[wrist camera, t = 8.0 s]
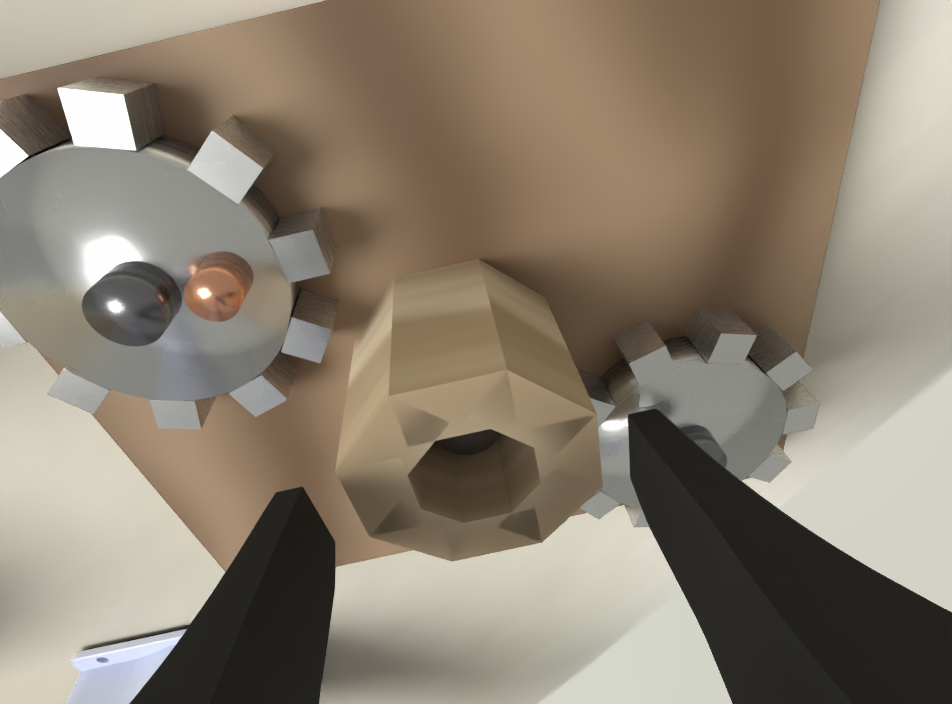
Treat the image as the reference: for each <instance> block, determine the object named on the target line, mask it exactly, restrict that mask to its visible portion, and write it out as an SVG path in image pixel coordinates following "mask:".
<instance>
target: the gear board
mask: <svg viewBox="0 0 952 704" xmlns="http://www.w3.org/2000/svg"><path fill="white" fill-rule="evenodd" d="M879 2H880V0H327V1H323V2H319V3H315V4H310V5H306V6H302V7H298V8H294V9H290V10H286V11H281V12H277V13H273V14H269V15H265V16H261V17H257V18H252V19H248V20H244V21H240V22H236V23H232V24H228V25H223V26H219V27H215V28H211V29H207V30H203V31H199V32H194V33H190V34H186V35H182V36H178V37H174V38H170V39H165V40H161V41H157V42H153V43H149V44H145V45H141V46H136V47H132V48H128V49H124V50H120V51H116V52H112V53H107V54H103V55H99V56H95V57H91V58H87V59H83V60H78V61H74V62H70V63H66V64H62V65H58V66H54V67H50V68H45V69H41V70H37V71H33V72H29V73H25V74H21V75H16V76H12V77H8V78H4V79H0V101H2V100H5V99H9V98H12V97H16V96H20V95H23V94H26V95H27V96H28V97H29V98H30V99H31V100H32V101H33V102H34V103H35V104H36V105H37V106H38V107H39V108H40V109H41V110H42V111H43V112H44V113H45V114H46V115H47V116H48V117H49V118H50V119H51V120H52V121H53V122H54V123H55V124H56V125H57V126H58V127H59V128H60V129H61V130H62V131H63V132H64V133H65V134H66V135H67V136H68V137H69V138H68V139H67V140H66V141H64V142H63V143H65V142H68V141H70V140H72V135H71V132H70V128H69V125H68V122H67V118H66V115H65V111H64V108H63V105H62V101H61V98H60V94H59V91H58V88H59V87H63V86H66V85H70V84H73V83H77V82H80V81H84V80H87V79H91V78H94V77H106V78H115V79H124V80H133V81H142V82H151V83H155V85H156V90H157V95H158V100H159V105H160V110H161V115H162V120H163V125H164V130H165V134H163V135H164V136H169V137H172V138H175V139H178V140H181V141H184V142H187V143H190V144H192V145H194V146H196V147H199V148H201V147H202V145H203V144H204V142H205V141H206V139H207V137H208V136H209V134H210V133H211V131H212V130H213V129H214V128H216V127H217V126H219V125H220V124H221V123H223V122H224V121H225V120H227V119H228V118H230V117H231V116H232V115H233V116H235V117H236V118H237V119H239V120H240V121H241V122H243V123H244V124H245V125H246V126H248V127H249V128H250V129H252V130H253V131H254V132H256V133H257V134H258V135H259V136H261V137H262V138H263V139H265V140H266V141H267V142H269V143H270V144H271V145H273V146H274V147H275V148H276V149H278V151H277V152H276V153H275V155H274V156H273V158H272V159H271V161H270V162H269V164H268V165H267V166H266V168H265V169H264V171H263V172H262V174H261V175H260V177H259V178H258V179H257V181H256V182H255V184H254V185H255V186H256V187H257V188H258V189H259V190H260V191H261V192H262V193H263V195H264V196H265V197H266V198H267V199H268V200H269V202H270V203H271V204H272V205H273V206H274V208H275V209H276V211H277V212H278V214H279V215H280V217H282V216H284V215H288V214H292V213H297V212H301V211H305V210H309V209H314V208H318V207H322V209H323V211H324V214H325V217H326V219H327V222H328V224H329V227H330V230H331V232H332V235H333V238H334V240H335V243H336V246H337V250H336V254H335V258H334V261H333V265H332V269H331V273H330V274H326V275H322V276H318V277H313V278H309V279H304V280H300V292H301V290H302V289H305V290H308V291H311V292H314V293H317V294H320V295H323V296H326V297H329V298H333V299H336V300H339V302H338V307H337V311H336V316H335V320H334V325H333V329H332V332H331V335H330V338H329V341H328V343H327V346H326V349H325V352H324V354H323V357H322V360H321V363H317V362H314V361H310V360H307V359H303V358H300V357H296V356H293V355H289V354H286V353H284V354H285V355H286V356H287V357H288V358H289V359H290V360H291V361H292V362H293V363H294V364H295V365H296V366H297V369H296V373H295V376H294V379H293V383H292V386H291V390H290V393H289V397H288V400H286V401H284V402H283V403H281V404H279V405H277V406H275V407H273V408H272V409H270V410H268V411H266V412H264V413H262V414H261V415H259V416H257V417H255V416H254V415H253V414H251V413H250V412H249V411H248V410H247V409H246V408H245V407H243V406H242V405H241V404H240V403H239V402H238V401H237V400H235V399H234V398H233V397H232V396H231V395H230V394H229V392H227V393H224V394H221V395H217V397H216V399H215V401H214V403H213V405H212V407H211V410H210V412H209V414H208V416H207V418H206V420H205V422H204V425H203V427H202V429H158V427H157V423H156V420H155V417H154V413H153V410H152V406H151V403H150V399H147V398H141V397H137V396H132V395H127V394H124V393H120V392H117V391H114V390H111V391H110V392H109V394H108V395H107V396H106V398H105V399H104V401H103V402H102V403H101V405H100V406H99V407H98V409H97V410H96V411H95V413H94V414H92V413H91V414H92V415H93V416H94V417H95V419H96V420H97V421H98V422H99V423H100V425H101V426H102V427H103V428H104V429H105V430H106V432H107V433H108V434H109V435H110V436H111V438H112V439H113V440H114V441H115V442H116V443H117V445H118V446H119V447H120V448H121V449H122V450H123V452H124V453H125V454H126V455H127V456H128V458H129V459H130V460H131V461H132V462H133V463H134V465H135V466H136V467H137V468H138V469H139V471H140V472H141V473H142V474H143V475H144V476H145V478H146V479H147V480H148V481H149V482H150V483H151V485H152V486H153V487H154V488H155V489H156V491H157V492H158V493H159V494H160V495H161V496H162V498H163V499H164V500H165V501H166V502H167V504H168V505H169V506H170V507H171V508H172V509H173V511H174V512H175V513H176V514H177V515H178V517H179V518H180V519H181V520H182V521H183V522H184V524H185V525H186V526H187V527H188V528H189V529H190V531H191V532H192V533H193V534H194V535H195V537H196V538H197V539H198V540H199V541H200V542H201V544H202V545H203V546H204V547H205V548H206V550H207V551H208V552H209V553H210V554H211V555H212V557H213V558H214V559H215V560H216V561H217V562H218V564H219V565H220V566H221V567H222V568H223V570H224V571H225V572H226V571H227V569H228V568H229V566H230V565H231V563H232V561H233V560H234V558H235V557H236V555H237V554H238V552H239V550H240V549H241V547H242V546H243V544H244V542H245V541H246V539H247V538H248V536H249V534H250V533H251V531H252V529H253V528H254V526H255V525H256V523H257V521H258V520H259V518H260V517H261V515H262V513H263V512H264V510H265V508H266V507H267V505H268V504H269V502H270V501H271V499H272V498H273V496H274V494H275V493H276V492H280V491H284V490H289V489H293V488H298V487H302V486H303V488H304V489H305V491H306V493H307V494H308V496H309V498H310V500H311V501H312V503H313V505H314V506H315V508H316V510H317V511H318V513H319V515H320V517H321V518H322V520H323V522H324V523H325V525H326V527H327V528H328V530H329V532H330V534H331V535H332V537H333V539H334V540H335V567H337V566H341V565H346V564H351V563H355V562H360V561H365V560H369V559H374V558H379V557H383V556H388V555H393V554H397V553H402V552H407V551H411V550H412V549H409V548H405V547H402V546H399V545H395V544H392V543H389V542H385V541H382V540H379V539H375V538H372V537H369V535H368V533H367V532H366V530H365V528H364V526H363V524H362V522H361V520H360V518H359V516H358V514H357V512H356V511H355V509H354V507H353V505H352V503H351V501H350V499H349V497H348V495H347V493H346V491H345V489H344V488H343V486H342V484H341V482H340V480H339V478H338V476H337V474H336V472H335V468H336V462H337V455H338V448H339V442H340V435H341V428H342V422H343V415H344V408H345V402H346V395H347V388H348V382H349V375H350V368H351V362H352V355H353V349H354V342H355V339H356V338H357V336H358V334H359V333H360V331H361V330H362V328H363V326H364V325H365V323H366V322H367V320H368V319H369V317H370V315H371V314H372V312H373V311H374V309H375V307H376V306H377V304H378V303H379V301H380V300H381V298H382V296H383V295H384V293H385V292H386V290H387V288H388V287H389V285H390V284H391V282H392V280H393V279H394V278H396V277H400V276H405V275H409V274H414V273H418V272H422V271H427V270H431V269H436V268H440V267H445V266H449V265H453V264H458V263H462V262H467V261H471V260H475V259H479V260H481V261H483V262H485V263H486V264H488V265H490V266H491V267H493V268H495V269H497V270H498V271H500V272H502V273H504V274H505V275H507V276H509V277H510V278H512V279H514V280H516V281H517V282H519V283H521V284H523V285H524V286H526V287H528V288H529V289H531V290H533V291H535V292H536V293H538V294H540V295H541V296H543V297H545V298H546V301H547V303H548V305H549V307H550V310H551V312H552V314H553V316H554V319H555V321H556V323H557V325H558V328H559V330H560V332H561V334H562V337H563V339H564V341H565V343H566V346H567V348H568V350H569V352H570V355H571V357H572V359H573V361H574V364H575V366H576V368H579V369H582V370H585V371H588V372H591V373H594V374H597V375H600V376H602V375H603V374H604V373H605V372H606V371H608V370H609V369H610V368H611V367H612V366H613V365H615V364H616V363H617V362H619V361H620V360H621V359H623V356H622V354H621V352H620V350H619V348H618V346H617V344H616V342H615V340H614V338H613V336H612V334H614V333H616V332H618V331H620V330H622V329H624V328H626V327H628V326H630V325H632V324H634V323H636V322H638V321H640V320H642V319H644V318H646V319H647V320H648V322H649V323H650V324H651V326H652V327H653V329H654V330H655V331H656V333H657V334H658V336H659V337H660V338H661V340H666V339H669V338H675V337H681V336H686V335H685V334H686V331H687V329H688V327H689V324H690V322H691V319H692V317H693V314H694V312H695V309H696V307H714V308H730V309H731V310H732V311H733V312H734V313H735V314H736V315H737V316H738V317H739V318H740V319H741V320H742V321H743V322H744V323H745V324H746V325H747V326H748V327H749V328H750V329H751V330H752V331H753V332H754V333H756V332H757V331H759V330H760V329H761V328H763V327H764V326H765V325H767V324H768V325H769V326H770V327H771V328H772V329H773V330H774V331H775V332H776V333H777V334H778V335H779V336H780V337H781V338H783V339H784V340H785V341H786V342H787V343H788V344H789V345H790V346H791V347H792V348H793V349H794V350H795V351H796V352H797V353H798V354H799V355H800V356H801V357H802V358H803V356H804V351H805V347H806V342H807V337H808V333H809V328H810V323H811V319H812V314H813V309H814V305H815V300H816V295H817V291H818V286H819V281H820V277H821V272H822V267H823V263H824V258H825V254H826V249H827V244H828V240H829V235H830V230H831V226H832V221H833V216H834V212H835V207H836V202H837V198H838V193H839V188H840V184H841V179H842V174H843V170H844V165H845V160H846V156H847V151H848V146H849V142H850V137H851V133H852V128H853V123H854V119H855V114H856V109H857V105H858V100H859V95H860V91H861V86H862V81H863V77H864V72H865V67H866V63H867V58H868V53H869V49H870V44H871V39H872V35H873V30H874V25H875V21H876V16H877V12H878V7H879ZM63 143H62V144H63ZM60 145H61V144H60ZM300 292H299V295H300ZM284 341H285V340H284ZM283 344H284V342H283ZM283 344H282V346H281V349H280V350H282V347H283ZM39 353H40V354H41V355H42V356H43V357H44V358H45V360H46V361H47V362H48V363H49V364H50V366H51V367H52V368H53V369H54V370H55V371H56V373H57V374H58V375H60V373H61V371H62V370H63V369H64V368H63V367H61V366H60V365H58V364H56V363H55V362H53V361H52V360H51V359H49V358H48V357H47V356H45V355H44V354H42V353H41V352H40V351H39ZM499 435H500V433H499V432H497V431H494V430H492V429H487V430H483V431H478V432H474V433H469V434H464V435H460V436H455V437H451V438H446V439H442V440H437V441H438V442H439V444H440V445H441V446H442V447H443V448H444V449H446V450H447V451H449V452H452V453H455V454H460V455H471V454H476V453H479V452H482V451H484V450H486V449H488V448H490V447H491V446H492V445H493V444H494V443H495V442H496V441H497V439H498V438H499ZM786 435H787V434H784V435H783V434H782V435H781V437H780V439H779V441H778V443H777V444H778V445H779V447H780V448H781V449H782V450H783V449H784V444H785V440H786ZM747 478H752V477H749V476H747V477H746V478H745V479H747ZM621 505H624V504H622V503H620V505H618V506H621ZM584 513H587V512H586V511H584V510H582V509H581V508H579V509H578V510H577V511H575V512H574V513H573V514H572V515H571V516H574V515H579V514H584Z"/></svg>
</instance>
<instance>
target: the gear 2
mask: <svg viewBox="0 0 952 704" xmlns="http://www.w3.org/2000/svg"><path fill="white" fill-rule="evenodd" d="M685 335H686V336H681V337H675V338H669V339H666V340H661V338H660V337H659V336H658V334H657V333H656V331H655V330H654V329H653V327H652V326H651V324H650V323H649V322H648V320H647V319H646V318H644V319H642V320H640V321H638V322H636V323H634V324H632V325H630V326H628V327H626V328H624V329H622V330H620V331H618V332H616V333H614V334H612V336H613V338H614V340H615V342H616V344H617V346H618V348H619V350H620V352H621V354H622V356H623V359H621V360H620V361H619V362H617V363H616V364H615V365H613V366H612V367H611V368H610V369H609V370H608V371H606V372H605V373H604V374H603V375H602V376H600V375H597V374H594V373H591V372H588V371H585V370H582V369H579V368H577V370H578V373H579V375H580V377H581V379H582V382H583V384H584V386H585V388H586V391H587V393H588V395H589V397H590V400H591V402H592V404H593V406H594V409H595V411H596V413H597V421H598V434H599V446H600V459H601V471H602V484H603V487H602V488H600V489H599V490H598V491H597V492H596V493H595V494H594V495H593V496H592V497H591V498H590V499H588V500H587V501H586V502H585V503H584V504H583V505H582V506H581V507H580V508H581V509H582V510H584V511H586V512H587V513H589V514H591V515H592V516H594V517H596V518H597V519H600V518H601V517H603V516H604V515H605V514H607V513H608V512H610V511H611V510H613V509H614V508H616V507H617V506H618V505H620V503H622V504H624V505H625V508H626V510H627V512H628V515H629V517H630V519H631V522H632V524H633V527H649V525H648V523H647V521H646V518H645V516H644V513H643V511H642V508H641V506H640V503H639V500H638V498H637V495H636V492H635V490H634V487H633V484H632V481H631V479H630V461H629V432H628V414H632V413H637V412H641V411H646V410H650V409H655V408H656V409H658V410H659V411H661V412H662V413H663V414H664V415H665V416H666V417H667V418H668V419H669V420H671V421H672V422H673V423H674V424H675V425H676V426H677V427H678V428H679V429H680V430H681V431H683V432H684V433H685V434H686V435H687V436H688V437H689V438H690V439H691V440H693V441H694V442H695V443H696V444H697V445H698V446H700V447H701V448H702V449H703V450H704V451H705V452H706V453H708V454H709V455H710V456H711V457H712V458H714V459H715V460H716V461H717V462H718V463H720V464H721V465H722V466H723V467H725V468H726V469H727V470H728V471H730V472H731V473H732V474H733V475H735V476H736V477H737V478H738V479H739V480H741V481H742V480H743V479H745V478H746V477H747V476H749V477H752V478H756V479H759V480H762V481H766V482H769V483H770V482H771V481H772V480H773V479H774V478H775V477H776V476H777V475H778V474H779V473H780V472H781V471H782V470H783V469H785V468H786V467H787V466H788V465H789V464H790V463H791V462H792V461H791V460H790V459H789V458H788V457H787V455H786V454H785V453H784V452H783V450H782V449H781V448H780V447H779V445H778V444H777V443H778V441H779V439H780V437H781V435H782V434H783V435H784V434H789V433H793V432H798V431H803V430H807V429H812V428H814V424H815V420H816V416H817V412H818V408H819V404H820V403H819V402H818V401H817V400H816V399H815V398H814V397H813V396H812V395H811V394H810V393H809V392H808V391H807V390H806V389H805V388H804V387H803V386H802V385H801V384H800V383H799V382H798V380H800V379H801V378H803V377H804V376H806V375H807V374H808V373H810V372H811V371H813V370H812V369H811V368H810V366H809V365H808V364H807V363H806V362H805V361H804V360H803V358H802V357H801V356H800V355H799V354H798V353H797V352H796V351H795V350H794V349H793V348H792V347H791V346H790V345H789V344H788V343H787V342H786V341H785V340H784V339H783V338H781V337H780V336H779V335H778V334H777V333H776V332H775V331H774V330H773V329H772V328H771V327H770V326H769V325H768V324H767V325H765V326H764V327H763V328H761V329H760V330H759V331H757V332H756V333H754V332H753V331H752V330H751V329H750V328H749V327H748V326H747V325H746V324H745V323H744V322H743V321H742V320H741V319H740V318H739V317H738V316H737V315H736V314H735V313H734V312H733V311H732V310H731V309H730V308H714V307H696V309H695V312H694V314H693V317H692V319H691V322H690V324H689V327H688V329H687V331H686V334H685Z"/></svg>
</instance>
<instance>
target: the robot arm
mask: <svg viewBox="0 0 952 704" xmlns="http://www.w3.org/2000/svg"><path fill="white" fill-rule="evenodd" d="M628 432H629V461H630V479H631V481H632V484H633V487H634V490H635V492H636V495H637V498H638V500H639V503H640V506H641V508H642V511H643V513H644V516H645V518H646V521H647V523H648V525H649V527H650V529H651V531H652V533H653V535H654V537H655V539H656V541H657V543H658V545H659V547H660V549H661V550H662V552H663V554H664V556H665V558H666V560H667V562H668V564H669V566H670V568H671V570H672V572H673V574H674V576H675V578H676V580H677V581H678V583H679V585H680V587H681V589H682V591H683V593H684V595H685V597H686V599H687V601H688V603H689V605H690V607H691V608H692V610H693V612H694V614H695V616H696V618H697V620H698V622H699V625H700V627H701V629H702V631H703V633H704V635H705V637H706V639H707V642H708V644H709V647H710V649H711V652H712V654H713V657H714V659H715V661H716V664H717V666H718V669H719V671H720V674H721V676H722V678H723V681H724V683H725V686H726V688H727V691H728V693H729V696H730V698H731V701H732V703H733V704H952V612H950V611H948V610H946V609H944V608H942V607H940V606H938V605H936V604H934V603H933V602H931V601H929V600H927V599H926V598H924V597H922V596H920V595H918V594H916V593H914V592H913V591H911V590H909V589H907V588H905V587H903V586H902V585H900V584H898V583H896V582H894V581H892V580H891V579H889V578H887V577H885V576H884V575H882V574H880V573H878V572H876V571H874V570H873V569H871V568H869V567H868V566H866V565H864V564H863V563H861V562H859V561H858V560H856V559H854V558H852V557H851V556H849V555H848V554H846V553H844V552H843V551H841V550H839V549H838V548H836V547H835V546H833V545H832V544H830V543H828V542H827V541H825V540H824V539H822V538H821V537H819V536H817V535H816V534H814V533H813V532H811V531H810V530H808V529H807V528H805V527H804V526H802V525H801V524H799V523H798V522H796V521H795V520H793V519H792V518H791V517H789V516H788V515H786V514H785V513H784V512H782V511H781V510H779V509H778V508H777V507H775V506H774V505H773V504H771V503H770V502H768V501H767V500H766V499H764V498H763V497H762V496H760V495H759V494H758V493H756V492H755V491H754V490H752V489H751V488H750V487H748V486H747V485H746V484H744V483H743V482H742V481H741V480H739V479H738V478H737V477H736V476H735V475H733V474H732V473H731V472H730V471H728V470H727V469H726V468H725V467H723V466H722V465H721V464H720V463H718V462H717V461H716V460H715V459H714V458H712V457H711V456H710V455H709V454H708V453H706V452H705V451H704V450H703V449H702V448H701V447H700V446H698V445H697V444H696V443H695V442H694V441H693V440H691V439H690V438H689V437H688V436H687V435H686V434H685V433H684V432H683V431H681V430H680V429H679V428H678V427H677V426H676V425H675V424H674V423H673V422H672V421H671V420H669V419H668V418H667V417H666V416H665V415H664V414H663V413H662V412H661V411H659V410H658V409H656V408H655V409H650V410H646V411H641V412H637V413H632V414H628ZM334 590H335V540H334V539H333V537H332V535H331V534H330V532H329V530H328V528H327V527H326V525H325V523H324V522H323V520H322V518H321V517H320V515H319V513H318V511H317V510H316V508H315V506H314V505H313V503H312V501H311V500H310V498H309V496H308V494H307V493H306V491H305V489H304V488H303V486H302V487H298V488H293V489H289V490H284V491H280V492H276V493H275V494H274V496H273V498H272V499H271V501H270V502H269V504H268V505H267V507H266V508H265V510H264V512H263V513H262V515H261V517H260V518H259V520H258V521H257V523H256V525H255V526H254V528H253V529H252V531H251V533H250V534H249V536H248V538H247V539H246V541H245V542H244V544H243V546H242V547H241V549H240V550H239V552H238V554H237V555H236V557H235V558H234V560H233V561H232V563H231V565H230V566H229V568H228V569H227V571H226V572H225V574H224V575H223V577H222V579H221V580H220V582H219V583H218V585H217V586H216V588H215V589H214V591H213V592H212V594H211V595H210V597H209V598H208V600H207V601H206V603H205V604H204V606H203V607H202V608H201V610H200V611H199V613H198V614H197V616H196V617H195V618H194V620H193V621H192V623H191V624H190V626H189V627H188V628H187V629H183V630H179V631H174V632H169V633H165V634H160V635H155V636H151V637H146V638H141V639H136V640H132V641H127V642H122V643H118V644H113V645H108V646H104V647H99V648H94V649H90V650H85V651H80V652H78V653H76V654H75V655H74V657H73V659H72V661H71V665H72V666H73V667H75V668H76V669H77V670H79V671H80V675H79V677H78V679H77V681H76V683H75V685H74V687H73V689H72V691H71V693H70V695H69V698H68V700H67V702H66V704H319V697H320V691H321V690H322V676H323V669H324V663H325V656H326V649H327V642H328V635H329V628H330V620H331V613H332V606H333V598H334Z"/></svg>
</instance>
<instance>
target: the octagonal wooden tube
mask: <svg viewBox="0 0 952 704" xmlns="http://www.w3.org/2000/svg"><path fill="white" fill-rule="evenodd" d="M487 429H492V430H494V431H497V432H499V433H500V435H499V438H498V439H497V441H496V442H495V443H494V444H493V445H492V446H491V447H490V448H488V449H486V450H484V451H482V452H479V453H476V454H471V455H460V454H455V453H452V452H449V451H447V450H446V449H444V448H443V447H442V446H441V445H440V444H439V442H438V441H437V440H442V439H446V438H451V437H455V436H460V435H464V434H469V433H474V432H478V431H483V430H487ZM335 472H336V474H337V476H338V478H339V480H340V482H341V484H342V486H343V488H344V489H345V491H346V493H347V495H348V497H349V499H350V501H351V503H352V505H353V507H354V509H355V511H356V512H357V514H358V516H359V518H360V520H361V522H362V524H363V526H364V528H365V530H366V532H367V533H368V535H369V537H372V538H375V539H379V540H382V541H385V542H389V543H392V544H395V545H399V546H402V547H405V548H409V549H412V550H416V551H419V552H422V553H426V554H429V555H432V556H436V557H439V558H442V559H446V560H449V561H457V560H461V559H466V558H471V557H475V556H480V555H485V554H489V553H494V552H499V551H503V550H508V549H513V548H518V547H522V546H527V545H532V544H536V543H541V542H543V541H544V540H545V539H546V538H547V537H548V536H549V535H550V534H552V533H553V532H554V531H555V530H556V529H557V528H558V527H559V526H560V525H561V524H562V523H564V522H565V521H566V520H567V519H568V518H569V517H570V516H571V515H572V514H573V513H574V512H575V511H577V510H578V509H579V508H580V507H581V506H582V505H583V504H584V503H585V502H586V501H587V500H588V499H590V498H591V497H592V496H593V495H594V494H595V493H596V492H597V491H598V490H599V489H600V488H602V487H603V484H602V471H601V459H600V446H599V434H598V421H597V413H596V411H595V409H594V406H593V404H592V402H591V400H590V397H589V395H588V393H587V391H586V388H585V386H584V384H583V382H582V379H581V377H580V375H579V373H578V370H577V368H576V366H575V364H574V361H573V359H572V357H571V355H570V352H569V350H568V348H567V346H566V343H565V341H564V339H563V337H562V334H561V332H560V330H559V328H558V325H557V323H556V321H555V319H554V316H553V314H552V312H551V310H550V307H549V305H548V303H547V301H546V298H545V297H543V296H541V295H540V294H538V293H536V292H535V291H533V290H531V289H529V288H528V287H526V286H524V285H523V284H521V283H519V282H517V281H516V280H514V279H512V278H510V277H509V276H507V275H505V274H504V273H502V272H500V271H498V270H497V269H495V268H493V267H491V266H490V265H488V264H486V263H485V262H483V261H481V260H479V259H475V260H471V261H467V262H462V263H458V264H453V265H449V266H445V267H440V268H436V269H431V270H427V271H422V272H418V273H414V274H409V275H405V276H400V277H396V278H394V279H393V280H392V282H391V284H390V285H389V287H388V288H387V290H386V292H385V293H384V295H383V296H382V298H381V300H380V301H379V303H378V304H377V306H376V307H375V309H374V311H373V312H372V314H371V315H370V317H369V319H368V320H367V322H366V323H365V325H364V326H363V328H362V330H361V331H360V333H359V334H358V336H357V338H356V339H355V342H354V349H353V355H352V362H351V368H350V375H349V382H348V388H347V395H346V402H345V408H344V415H343V422H342V428H341V435H340V442H339V448H338V455H337V462H336V468H335Z"/></svg>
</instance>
